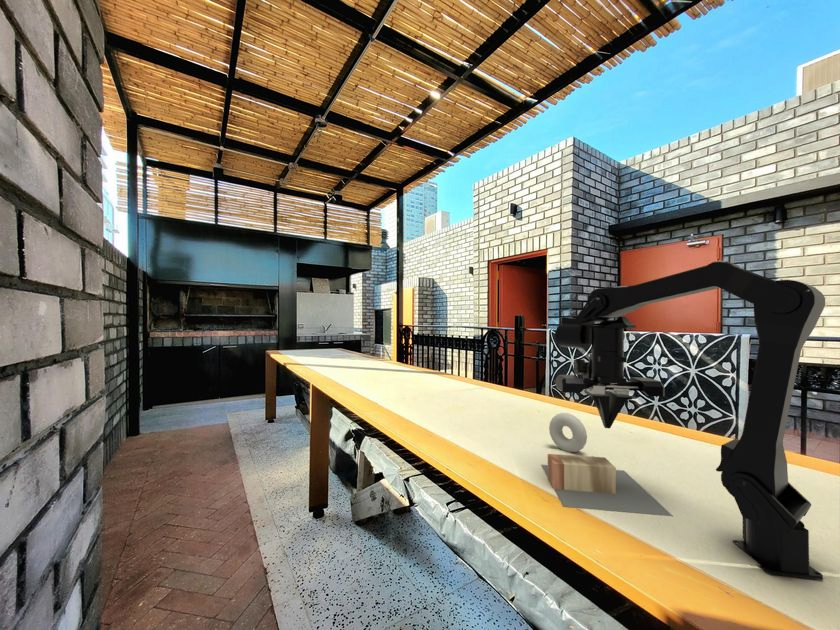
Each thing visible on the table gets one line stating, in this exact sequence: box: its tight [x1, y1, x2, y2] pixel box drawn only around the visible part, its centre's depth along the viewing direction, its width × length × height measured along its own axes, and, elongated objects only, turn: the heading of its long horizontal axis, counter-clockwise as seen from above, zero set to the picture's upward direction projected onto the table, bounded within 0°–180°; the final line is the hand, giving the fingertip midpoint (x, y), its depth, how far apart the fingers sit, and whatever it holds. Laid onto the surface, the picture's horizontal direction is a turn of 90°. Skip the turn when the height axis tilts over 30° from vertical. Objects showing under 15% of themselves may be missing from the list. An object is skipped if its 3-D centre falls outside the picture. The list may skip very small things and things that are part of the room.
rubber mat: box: [540, 464, 674, 517], centre depth 67 cm, size 18×18×1 cm
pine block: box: [547, 453, 617, 494], centre depth 68 cm, size 5×5×12 cm
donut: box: [548, 412, 588, 453], centre depth 87 cm, size 10×4×10 cm, turn 36°
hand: (607, 427), depth 67 cm, fingers closed
